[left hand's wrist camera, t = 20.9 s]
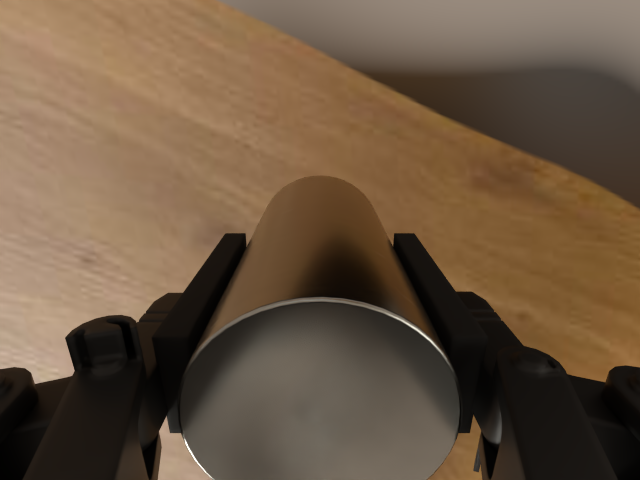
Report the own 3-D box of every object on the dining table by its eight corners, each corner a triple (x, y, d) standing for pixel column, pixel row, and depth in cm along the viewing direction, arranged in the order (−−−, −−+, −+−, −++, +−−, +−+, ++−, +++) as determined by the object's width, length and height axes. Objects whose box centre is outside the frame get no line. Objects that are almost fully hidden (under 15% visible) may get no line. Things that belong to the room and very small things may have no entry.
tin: (365, 161, 16) (444, 266, 6) (388, 272, 18) (477, 495, 8) (245, 192, 17) (126, 336, 6) (280, 296, 19) (231, 536, 8)
